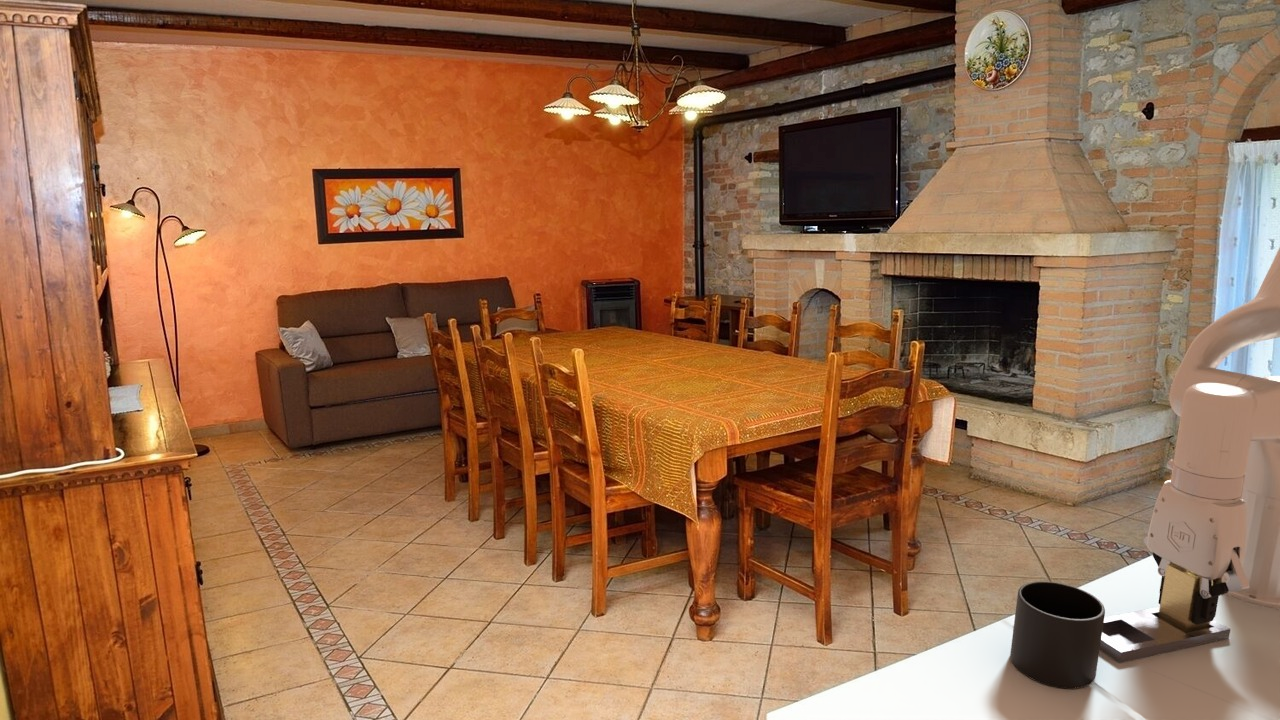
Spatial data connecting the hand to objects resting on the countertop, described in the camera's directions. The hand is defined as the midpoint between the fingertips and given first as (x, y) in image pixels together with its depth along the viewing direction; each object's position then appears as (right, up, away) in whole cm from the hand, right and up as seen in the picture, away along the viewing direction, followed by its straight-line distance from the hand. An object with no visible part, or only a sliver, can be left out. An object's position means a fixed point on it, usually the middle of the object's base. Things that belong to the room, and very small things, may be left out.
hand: (1185, 611), depth 110 cm
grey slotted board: (-5, -3, -1) cm, 6 cm away
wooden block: (0, -2, 0) cm, 2 cm away
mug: (-20, -5, -6) cm, 21 cm away
